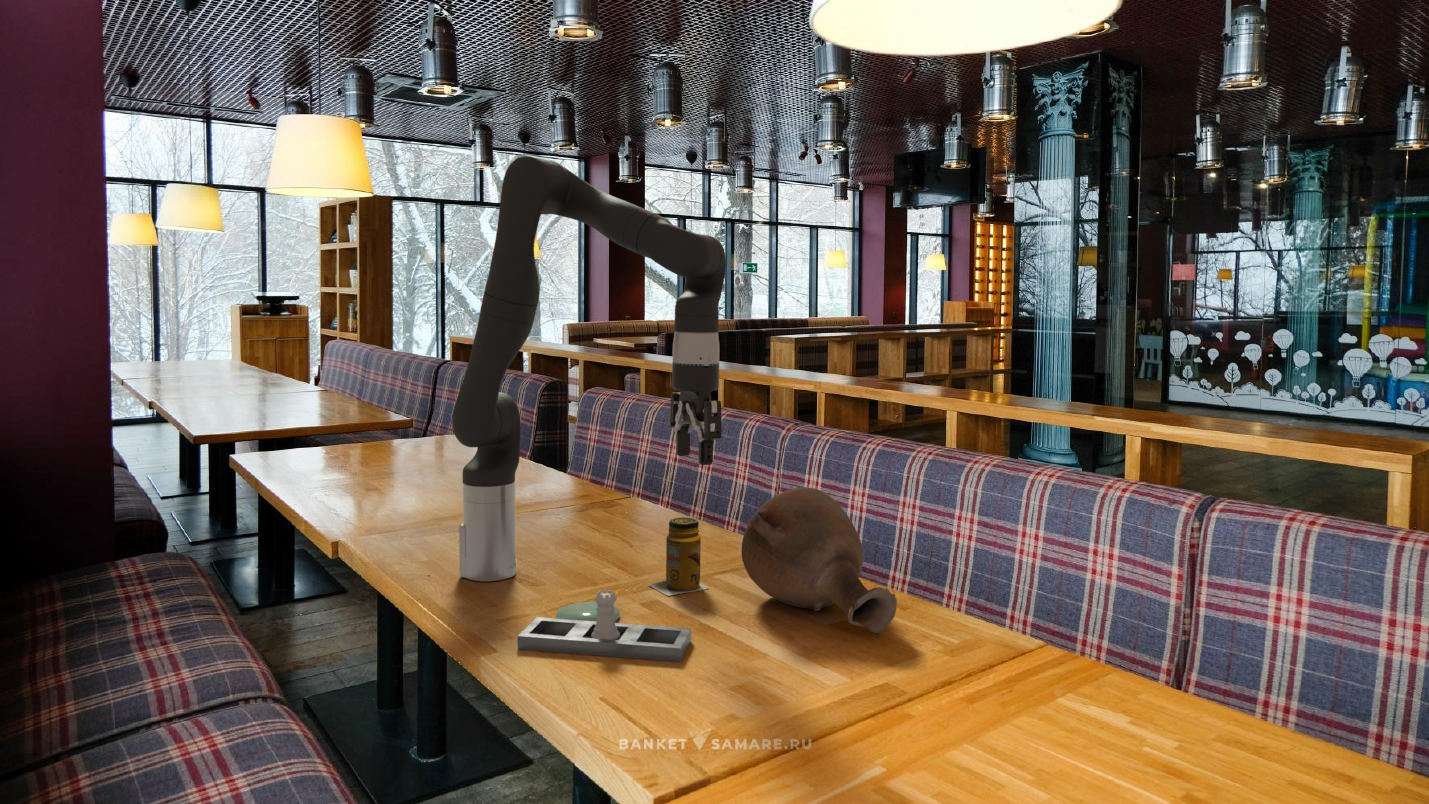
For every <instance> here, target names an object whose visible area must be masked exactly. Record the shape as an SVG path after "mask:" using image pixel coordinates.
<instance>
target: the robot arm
mask: <svg viewBox="0 0 1429 804" xmlns="http://www.w3.org/2000/svg"><path fill="white" fill-rule="evenodd" d="M542 215H544V216H545V215H555V216H560V217H563V218H568V219H571V220H574V221H577V222H580V223H582V224H585V225H587V226H589V227H590V228H593V229H594V230H596V231H597V232H599V233H600V234H601V235H602V236H604V237H605V238H607V239H608V240H610V241H611V242H613V243H615V244H617V246H618V245H619V246H621V247H623V248H625V249H626V250H629V251H631V252H633V253H635V254H638V255H639V256H642V257H643V258H648V259H650V260H651V261H653V262H654V263H656V264H657V265H659V266H661V267H663V268H664V269H666V270H667V271H669V272H671V273H672V274H675V275H677V276H679V277H682V278H685V282H684V289H683V293H682V294H681V295H680V296H679V297H677V299H676V302H675V305H674V327H673V328H674V333H673V341H672V363H671V364H672V367H671V370H672V371H671V373H672V374H671V386H672V389H673V390H674V391H673V392H671V393H670V407H669V409H670V412H669V413H670V414H669V415H670V416H669V426H670V428H673V429H674V430H673V431H674V434H675V435H676V437H675V438H676V439H675V444H676V448H675V450H676V453H675V454H676V456H678V457H685V456H686V457H687V456H690V454H691V433H690V432H691V431H692V428H693V430H695V431H696V433H697V437H698V440H699V441H698V464H699V465H700V466H711V465H713V463H714V442H715V441H716V440H717V439H718V440H720V439H721V438H722V401H721V400H712V397H711V394H712V392H714V391H717V390H718V389H719V387H720V386H719V385H720V340H719V339H720V338H719V319H720V318H719V315H720V313H719V305H720V304H719V303H720V301H721V296H722V293H723V289H724V287H723V286H724V282H725V277H726V270H727V258H726V252H725V248H724V247H723V244H722V242H721V241H720V240H718V239H717V238H716V237H714V236H712V235H706V234H701V233H695V232H692V231H690V230H687V229H684V228H681V227H679V226H678V225H675V224H672V222H671V221H669V219H667V218H665V217H664V216H661V215H659V214H657V213H654V212H652V211H650V210H648V209H645V208H644V207H641V206H639V205H636V204H634V203H632V202H629V201H627V200H624V199H621V198H618V197H616V196H613V195H612V194H609V193H607V192H604V191H602V190H600V189H599V188H598V187H595V186H594V185H592V184H590V183H588V182H587V181H585V180H584V179H582V178H581V177H580V176H578V175H576V174H575V173H573V172H572V171H571V170H570V169H568V168H567V167H565V166H563V165H562V164H560V163H559V162H558V161H556V160H555V161H554V160H551V159H548V158H544V157H543V158H542V157H539V156H535V155H529V154H528V155H527V154H526V155H521V156H517V158H515V159H514V160H512V161H511V162H510V163H509V164H508V167H507V169H506V171H505V174H504V177H503V180H502V185H501V194H500V203H499V211H498V220H497V228H496V235H495V240H494V245H493V246H494V247H493V252H492V256H491V260H490V261H491V262H490V267H489V271H488V276H487V279H486V283H485V287H484V292H483V297H482V300H481V306H480V309H479V316H478V322H477V327H476V330H475V334H474V339H473V343H472V347H471V351H470V356H469V359H468V364H467V367H466V371H465V373H464V376H463V379H462V383H461V385H460V388H459V391H458V394H457V397H456V400H455V404H454V406H453V410H452V411H453V412H452V420H451V422H452V423H451V424H452V425H451V426H452V430H453V433H454V436H455V438H456V439H457V441H458V442H459V443H460V444H461V445H463V446H465V447H468V448H477V449H476V452H475V453H474V456H472V457H473V458H472V459H471V460H470V461H468V462H467V463H466V464H465V465H464V467H463V468H462V474H461V475H462V477H461V478H462V508H463V509H462V515H463V516H462V521H463V522H462V523H461V524H459V525H458V547H459V548H458V549H459V552H458V553H459V559H458V560H459V578H465V579H467V580H471V581H476V582H496V581H503V580H506V579H509V578H512V577H514V576H515V575H516V573H517V543H516V542H517V539H516V537H517V536H516V535H517V531H516V526H517V523H516V519H517V518H516V472H517V469H518V468H519V467H518V466H519V464H520V456H521V454H520V453H521V433H522V432H521V430H522V429H521V427H522V425H521V421H522V420H521V414H520V409H519V407H518V404H517V402H516V401H515V399H514V398H513V397H512V396H511V395H510V394H508V393H505V392H502V391H500V390H501V386H502V384H503V379H504V377H505V375H506V372H507V370H508V368H509V366H511V364H512V362H513V361H514V359H515V358H516V357H517V355H518V354H519V352H520V350H521V349H522V347H523V345H525V343H526V341H527V339H528V338H529V336H530V334H531V332H532V330H533V329H532V328H533V325H534V321H535V317H536V314H537V309H538V304H539V301H540V281H539V274H538V269H537V265H536V258H535V240H536V235H537V232H538V231H537V230H538V226H539V222H540V219H541V216H542ZM675 390H676V392H675ZM677 391H678V392H677ZM679 391H680V392H679ZM714 426H715V428H714Z"/></svg>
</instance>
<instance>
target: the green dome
mask: <svg viewBox="0 0 1429 804" xmlns="http://www.w3.org/2000/svg"><path fill="white" fill-rule="evenodd" d="M597 606H598V605H597V603H596V601H585V602H583V601H581V602H576V603H570V604H567V605H564V606H562V607H560V608H558V609H557V611H556V617H555V619H568V620H582V621H596V622H597V610H596V608H597ZM614 607H615V610H614V620H615V623H617V622H618V621H619V620H620V617H621V615H620V614H621V611H620V608H619V607H617V606H616V605H614Z"/></svg>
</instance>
